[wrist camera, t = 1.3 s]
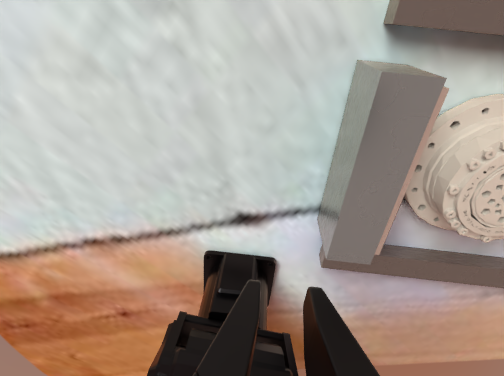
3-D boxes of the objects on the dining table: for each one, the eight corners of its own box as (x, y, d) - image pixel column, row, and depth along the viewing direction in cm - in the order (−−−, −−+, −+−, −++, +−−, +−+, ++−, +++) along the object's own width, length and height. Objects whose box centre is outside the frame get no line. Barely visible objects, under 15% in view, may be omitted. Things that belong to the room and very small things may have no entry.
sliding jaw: (361, 224, 23) (379, 265, 19) (317, 219, 23) (326, 259, 19) (417, 66, 17) (459, 79, 13) (357, 59, 17) (381, 71, 13)
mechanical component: (574, 169, 20) (522, 56, 17) (642, 204, 17) (593, 66, 13) (436, 239, 24) (372, 157, 21) (466, 280, 20) (394, 188, 17)
